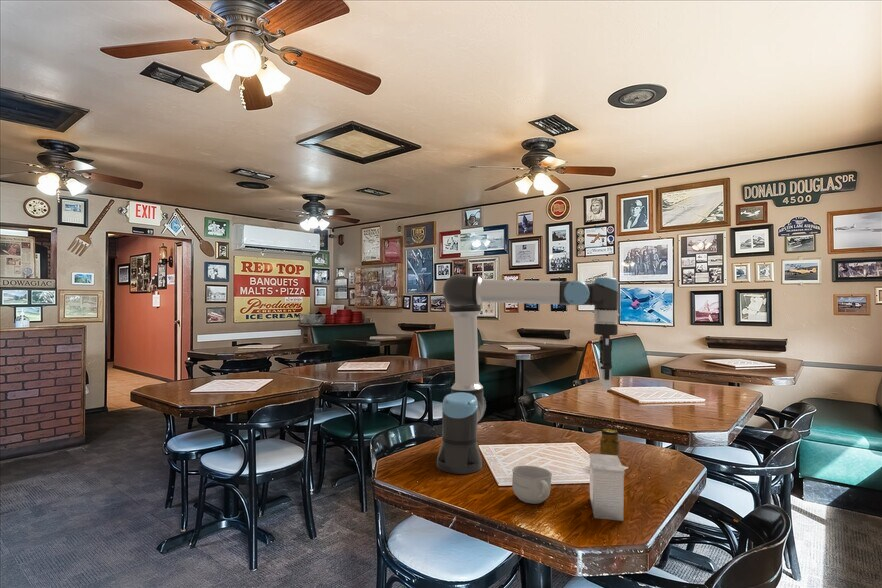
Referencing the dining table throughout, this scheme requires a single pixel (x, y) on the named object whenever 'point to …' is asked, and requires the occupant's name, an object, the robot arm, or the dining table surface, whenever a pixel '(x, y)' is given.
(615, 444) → the condiment
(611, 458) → the napkin dispenser
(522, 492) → the teacup
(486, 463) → the dining table surface
